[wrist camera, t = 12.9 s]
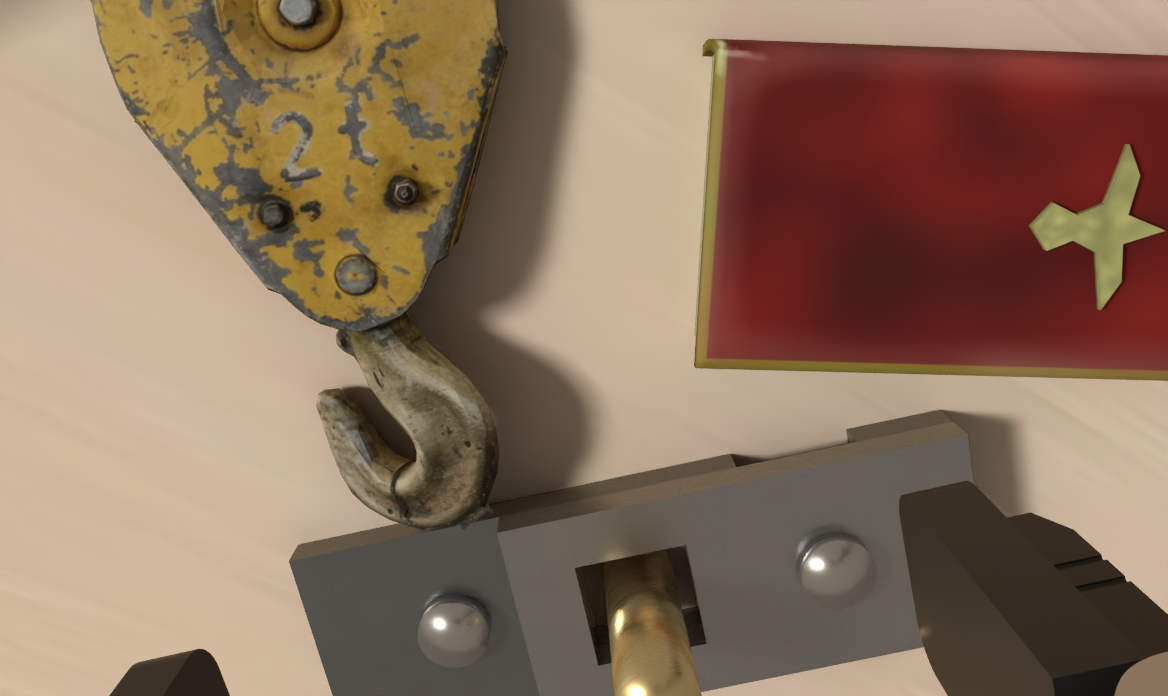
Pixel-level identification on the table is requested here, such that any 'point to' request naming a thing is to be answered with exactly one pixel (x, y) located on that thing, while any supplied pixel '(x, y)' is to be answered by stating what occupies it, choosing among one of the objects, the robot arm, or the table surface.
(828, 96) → the hardcover book
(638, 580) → the brass pin
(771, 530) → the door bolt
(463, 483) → the pulley block
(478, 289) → the table surface
